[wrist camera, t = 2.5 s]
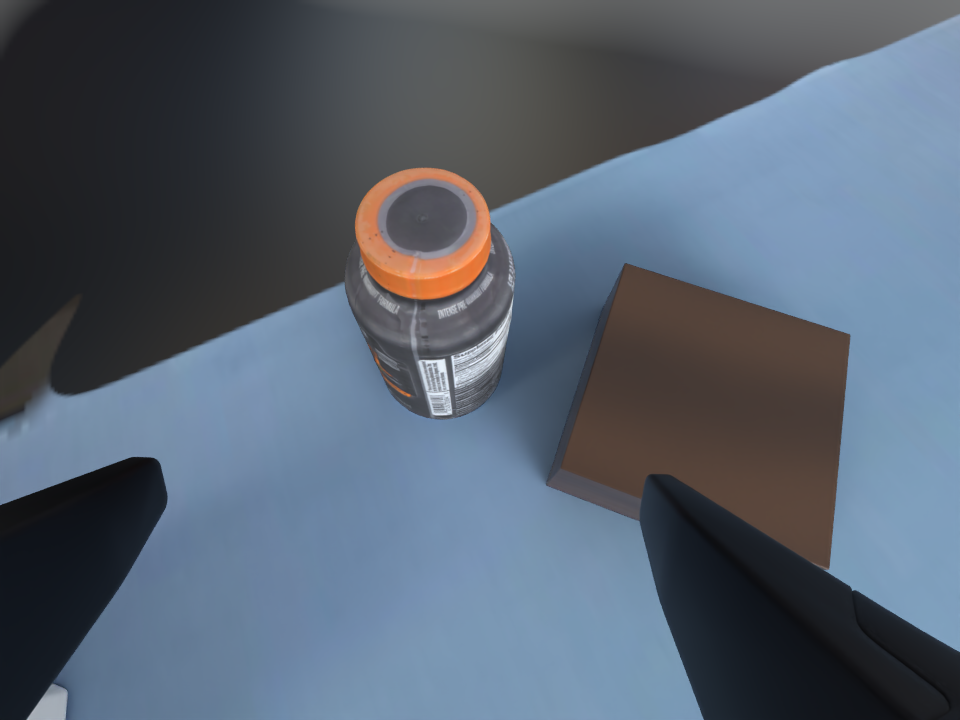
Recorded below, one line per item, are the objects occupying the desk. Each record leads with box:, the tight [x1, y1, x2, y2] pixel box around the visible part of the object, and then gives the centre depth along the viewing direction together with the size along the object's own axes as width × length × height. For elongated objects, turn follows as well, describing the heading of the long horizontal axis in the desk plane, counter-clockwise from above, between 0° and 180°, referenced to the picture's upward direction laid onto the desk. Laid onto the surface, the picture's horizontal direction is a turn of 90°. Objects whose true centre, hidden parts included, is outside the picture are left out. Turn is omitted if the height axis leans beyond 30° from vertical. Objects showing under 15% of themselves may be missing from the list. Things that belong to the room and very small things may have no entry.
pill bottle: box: [345, 168, 515, 419], centre depth 19 cm, size 6×6×11 cm
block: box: [546, 263, 850, 570], centre depth 22 cm, size 10×10×4 cm
